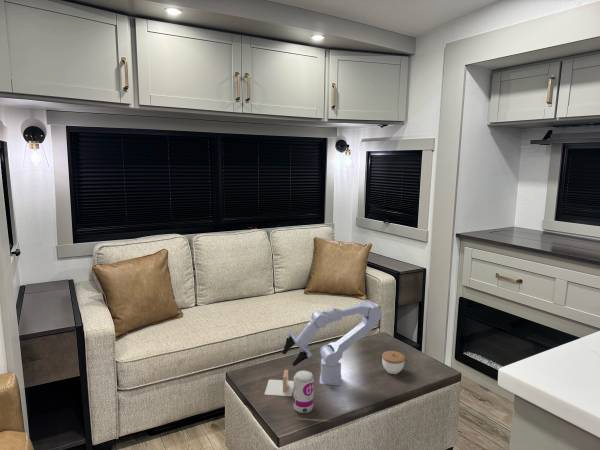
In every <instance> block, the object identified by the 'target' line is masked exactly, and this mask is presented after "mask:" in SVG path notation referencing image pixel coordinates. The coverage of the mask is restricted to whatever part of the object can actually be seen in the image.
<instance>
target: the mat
mask: <svg viewBox="0 0 600 450" xmlns="http://www.w3.org/2000/svg"><path fill="white" fill-rule="evenodd" d="M293 394H294V380H288V387H287V392H283V379H282V380H281V379H268V381H267V385H266V388H265V391H264V395H267V396H281V397H282V396H283V397H293Z"/></svg>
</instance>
